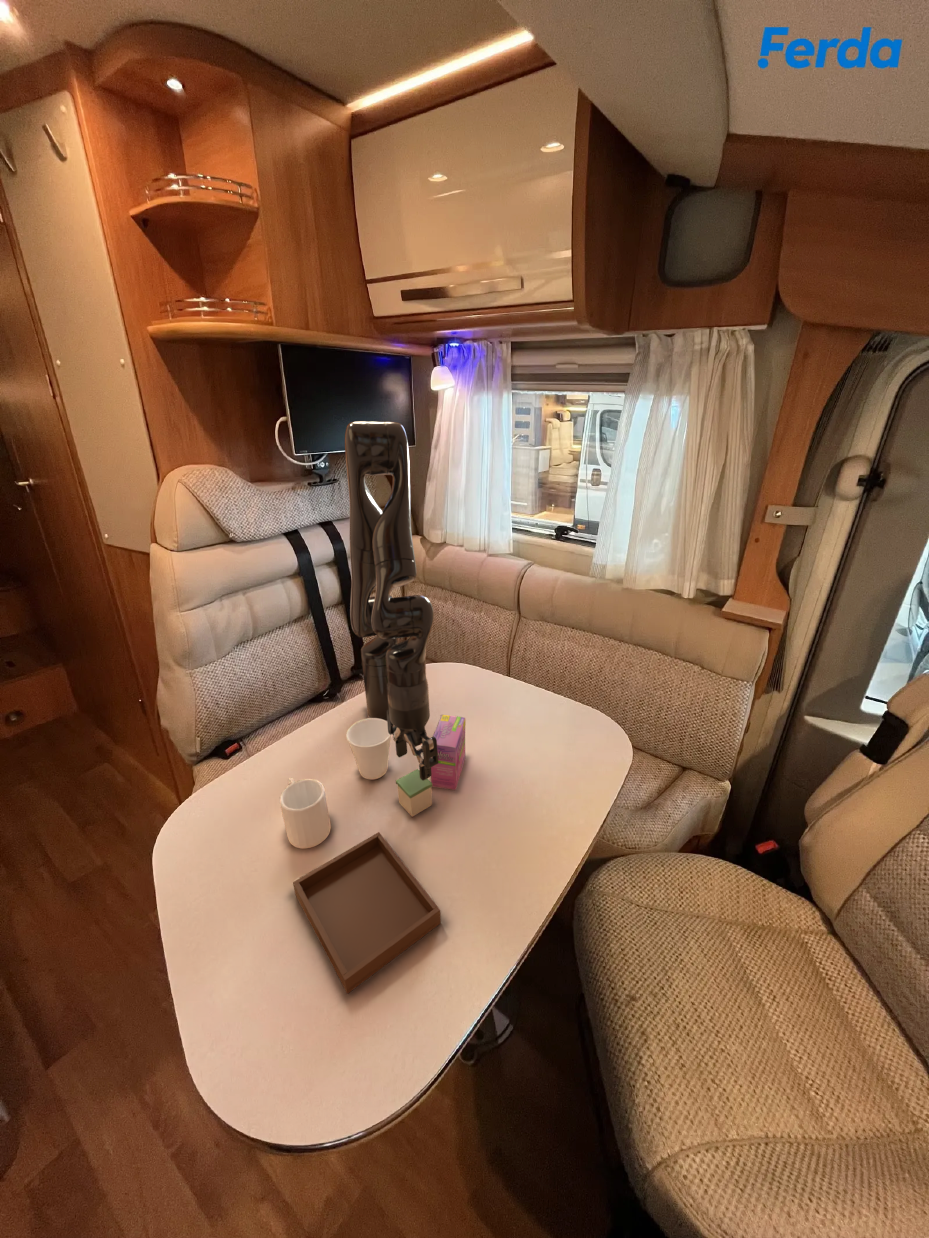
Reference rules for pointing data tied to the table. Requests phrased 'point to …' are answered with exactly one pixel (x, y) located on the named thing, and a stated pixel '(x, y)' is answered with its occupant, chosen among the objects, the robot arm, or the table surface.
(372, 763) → the cup
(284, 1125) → the table surface
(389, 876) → the tray
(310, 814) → the mug
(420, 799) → the container
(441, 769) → the box
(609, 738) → the table surface
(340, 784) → the table surface
